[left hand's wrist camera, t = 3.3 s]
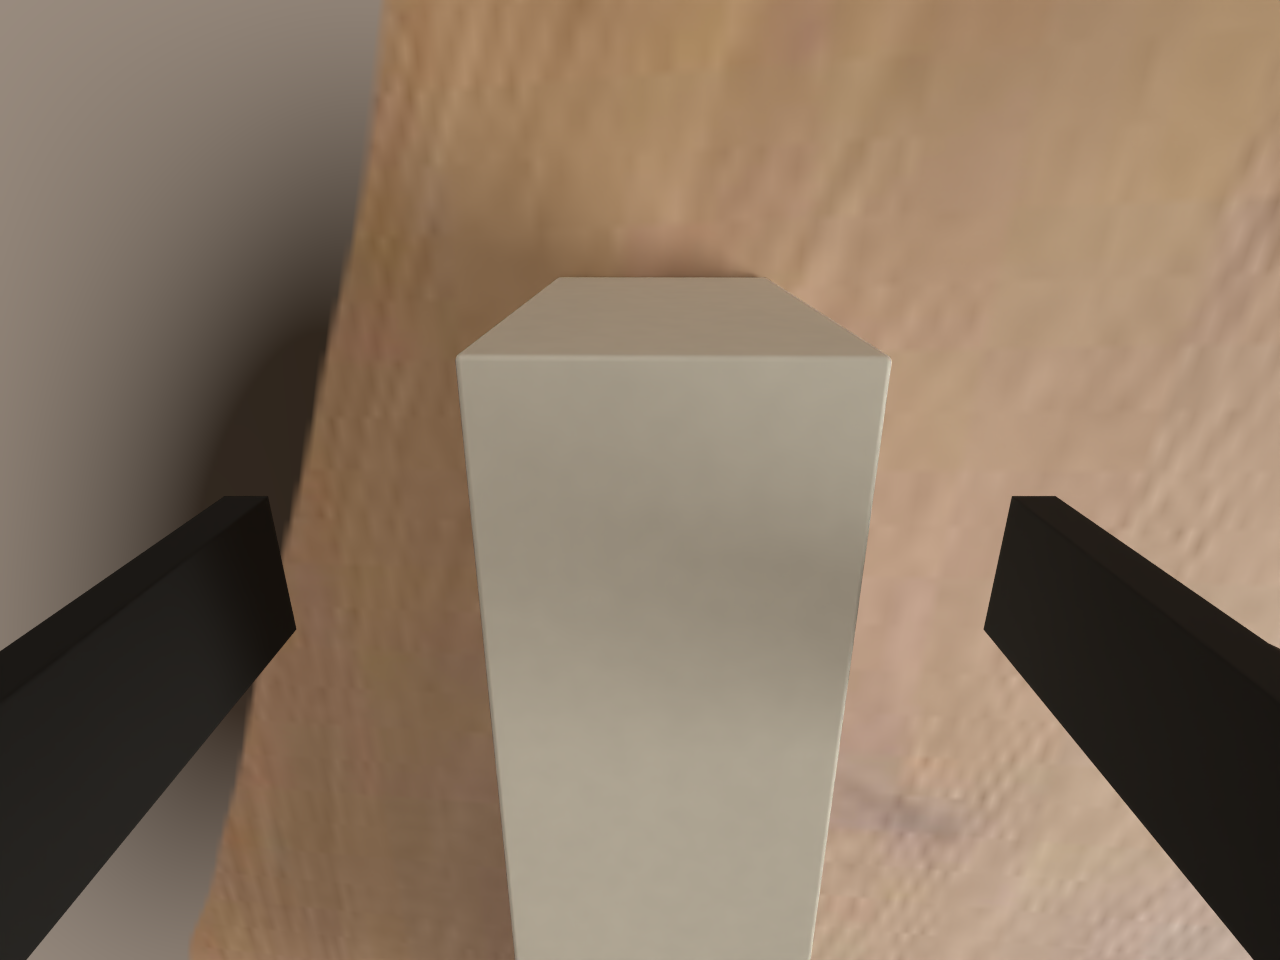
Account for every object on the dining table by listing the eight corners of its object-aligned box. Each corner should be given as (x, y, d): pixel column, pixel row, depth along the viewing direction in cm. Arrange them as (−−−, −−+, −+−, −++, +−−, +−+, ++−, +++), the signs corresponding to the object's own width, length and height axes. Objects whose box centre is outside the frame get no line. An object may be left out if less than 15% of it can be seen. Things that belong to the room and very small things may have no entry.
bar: (556, 276, 16) (452, 354, 8) (767, 277, 16) (895, 356, 8) (587, 1002, 26) (556, 1388, 18) (720, 1005, 26) (752, 1393, 18)
